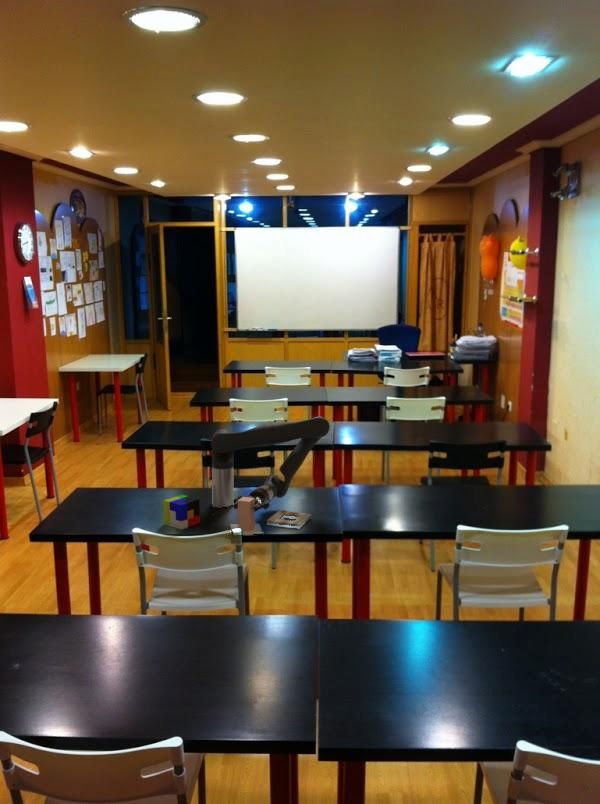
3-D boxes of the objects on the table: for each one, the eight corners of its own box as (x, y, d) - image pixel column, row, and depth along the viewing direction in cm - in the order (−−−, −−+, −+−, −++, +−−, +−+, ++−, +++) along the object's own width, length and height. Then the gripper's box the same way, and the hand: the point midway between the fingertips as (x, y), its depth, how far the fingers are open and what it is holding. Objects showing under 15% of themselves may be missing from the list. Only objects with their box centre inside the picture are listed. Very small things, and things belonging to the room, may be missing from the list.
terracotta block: (238, 529, 278) (237, 500, 276) (243, 525, 283) (243, 496, 281) (249, 531, 276) (249, 501, 274) (254, 527, 281) (254, 498, 279)
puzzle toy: (181, 529, 280) (181, 505, 279) (164, 524, 286) (163, 500, 285) (199, 523, 288) (199, 499, 286) (182, 518, 294) (182, 494, 292)
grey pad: (232, 536, 273) (232, 534, 273) (230, 525, 284) (230, 524, 284) (263, 534, 275) (263, 532, 275) (260, 524, 287) (260, 522, 286)
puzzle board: (266, 525, 285) (266, 520, 285) (279, 514, 298) (279, 510, 298) (299, 529, 281) (299, 524, 280) (310, 518, 294) (311, 514, 293)
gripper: (245, 485, 293) (228, 496, 278) (277, 489, 289) (261, 500, 274) (245, 503, 295) (228, 515, 280) (277, 507, 290) (261, 519, 275)
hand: (244, 507), depth 277 cm, fingers open, 8 cm apart
